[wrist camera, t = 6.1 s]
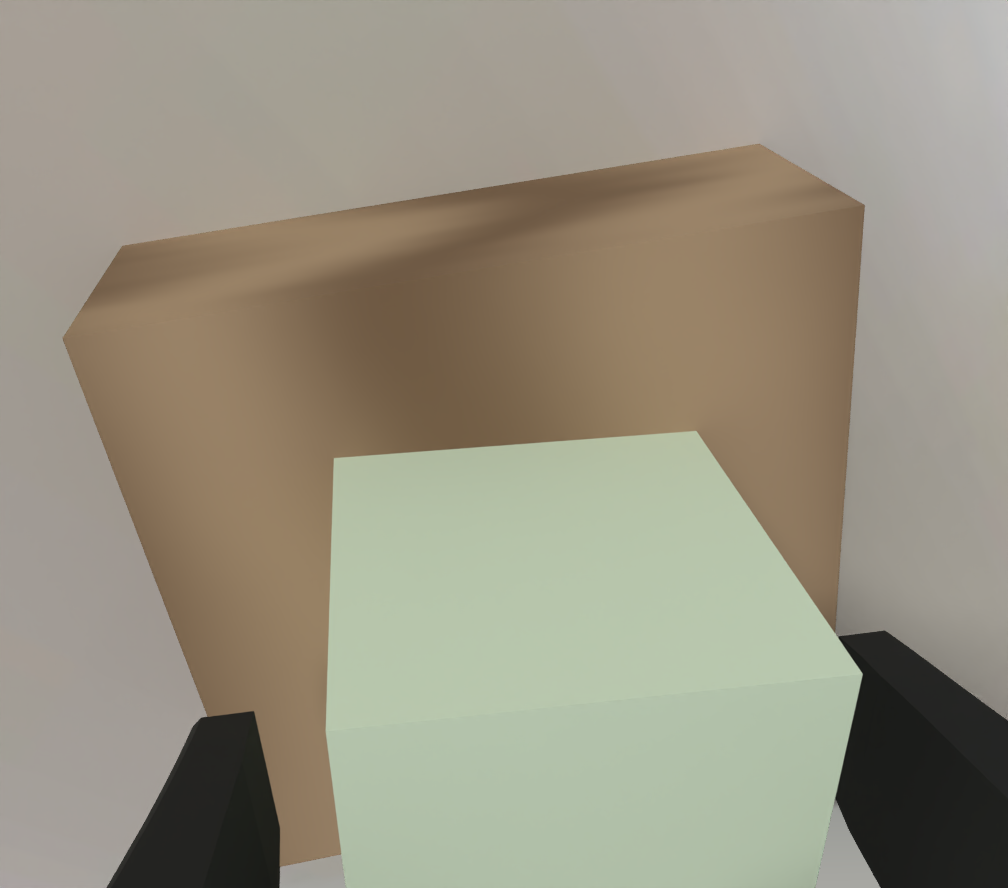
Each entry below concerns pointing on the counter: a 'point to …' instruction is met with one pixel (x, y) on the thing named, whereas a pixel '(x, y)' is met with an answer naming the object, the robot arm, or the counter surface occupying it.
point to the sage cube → (574, 674)
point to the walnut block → (457, 388)
